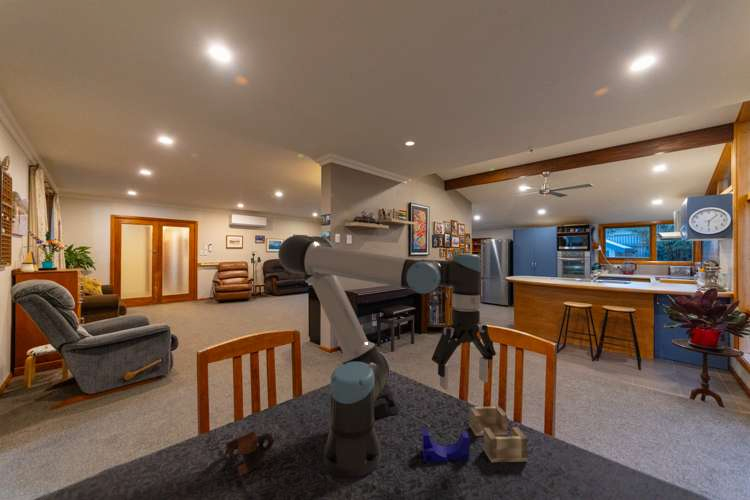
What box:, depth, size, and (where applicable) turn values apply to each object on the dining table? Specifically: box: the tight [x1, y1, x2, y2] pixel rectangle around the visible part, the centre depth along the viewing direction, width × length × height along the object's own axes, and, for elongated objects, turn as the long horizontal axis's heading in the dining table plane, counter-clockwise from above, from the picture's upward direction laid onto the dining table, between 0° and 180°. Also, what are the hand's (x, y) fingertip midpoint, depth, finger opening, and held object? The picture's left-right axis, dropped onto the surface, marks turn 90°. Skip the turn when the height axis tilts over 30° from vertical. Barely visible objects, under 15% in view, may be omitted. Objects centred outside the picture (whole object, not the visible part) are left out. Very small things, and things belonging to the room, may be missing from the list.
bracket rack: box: [469, 406, 528, 463], centre depth 85 cm, size 10×16×6 cm, turn 2°
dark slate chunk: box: [374, 383, 399, 418], centre depth 109 cm, size 15×22×5 cm
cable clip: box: [422, 428, 470, 464], centre depth 79 cm, size 12×4×6 cm, turn 85°
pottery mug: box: [223, 430, 275, 475], centre depth 78 cm, size 12×10×8 cm
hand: (464, 384), depth 83 cm, fingers open, 13 cm apart
